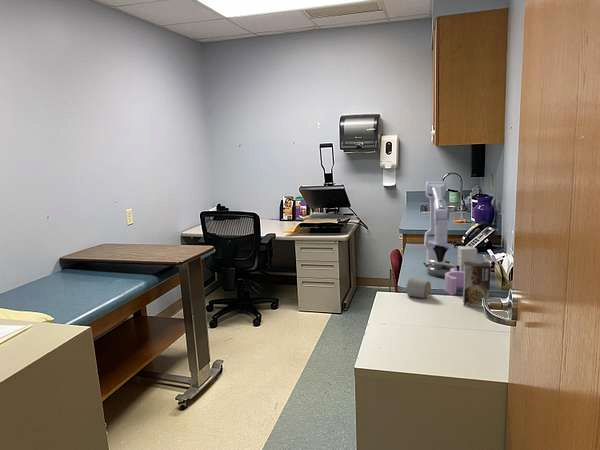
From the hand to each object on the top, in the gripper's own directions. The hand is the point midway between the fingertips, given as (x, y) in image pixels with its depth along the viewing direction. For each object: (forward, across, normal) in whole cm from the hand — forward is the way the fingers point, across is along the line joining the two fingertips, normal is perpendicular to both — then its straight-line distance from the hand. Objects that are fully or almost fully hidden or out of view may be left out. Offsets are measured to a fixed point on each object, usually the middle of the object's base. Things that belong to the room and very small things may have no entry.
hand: (440, 261), depth 208 cm
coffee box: (+7, +38, -22) cm, 45 cm away
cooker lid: (+1, 0, +2) cm, 2 cm away
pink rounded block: (+7, +21, -11) cm, 24 cm away
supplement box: (+7, +4, +14) cm, 16 cm away
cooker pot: (+6, 0, +2) cm, 7 cm away
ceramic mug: (+7, +18, -33) cm, 38 cm away
